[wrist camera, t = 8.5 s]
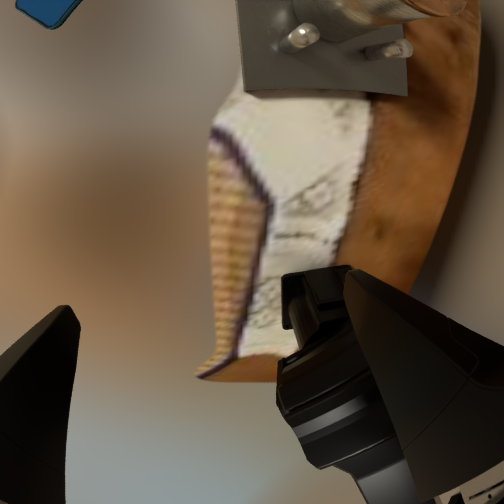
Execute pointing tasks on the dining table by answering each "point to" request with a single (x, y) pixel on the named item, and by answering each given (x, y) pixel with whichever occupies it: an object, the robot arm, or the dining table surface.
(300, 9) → the canister
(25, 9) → the smartphone
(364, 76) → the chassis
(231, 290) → the dining table surface
